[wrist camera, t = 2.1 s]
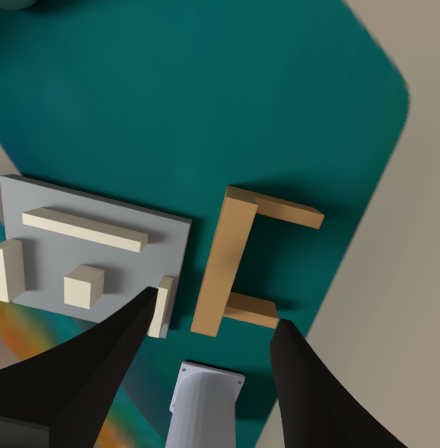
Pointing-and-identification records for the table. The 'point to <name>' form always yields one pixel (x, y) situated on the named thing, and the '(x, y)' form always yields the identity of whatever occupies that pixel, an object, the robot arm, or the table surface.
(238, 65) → the table surface
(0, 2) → the plastic bottle
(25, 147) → the table surface
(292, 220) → the wooden c-shaped bracket
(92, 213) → the stand
